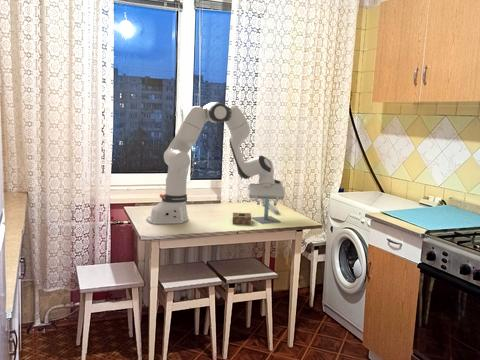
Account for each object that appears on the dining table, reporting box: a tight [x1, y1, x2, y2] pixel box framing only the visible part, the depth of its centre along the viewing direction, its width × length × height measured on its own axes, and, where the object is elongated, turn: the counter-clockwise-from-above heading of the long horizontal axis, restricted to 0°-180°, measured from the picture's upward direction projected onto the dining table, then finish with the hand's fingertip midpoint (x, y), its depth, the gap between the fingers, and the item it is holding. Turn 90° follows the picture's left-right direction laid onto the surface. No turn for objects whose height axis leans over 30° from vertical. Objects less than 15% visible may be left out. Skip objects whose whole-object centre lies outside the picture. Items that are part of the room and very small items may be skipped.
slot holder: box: [232, 212, 252, 226], centre depth 254 cm, size 10×10×4 cm
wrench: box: [260, 199, 280, 216], centre depth 288 cm, size 8×2×30 cm
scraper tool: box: [263, 198, 270, 220], centre depth 259 cm, size 2×3×12 cm, turn 1°
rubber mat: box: [251, 215, 281, 225], centre depth 260 cm, size 12×12×1 cm
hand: (266, 204), depth 258 cm, fingers open, 8 cm apart
